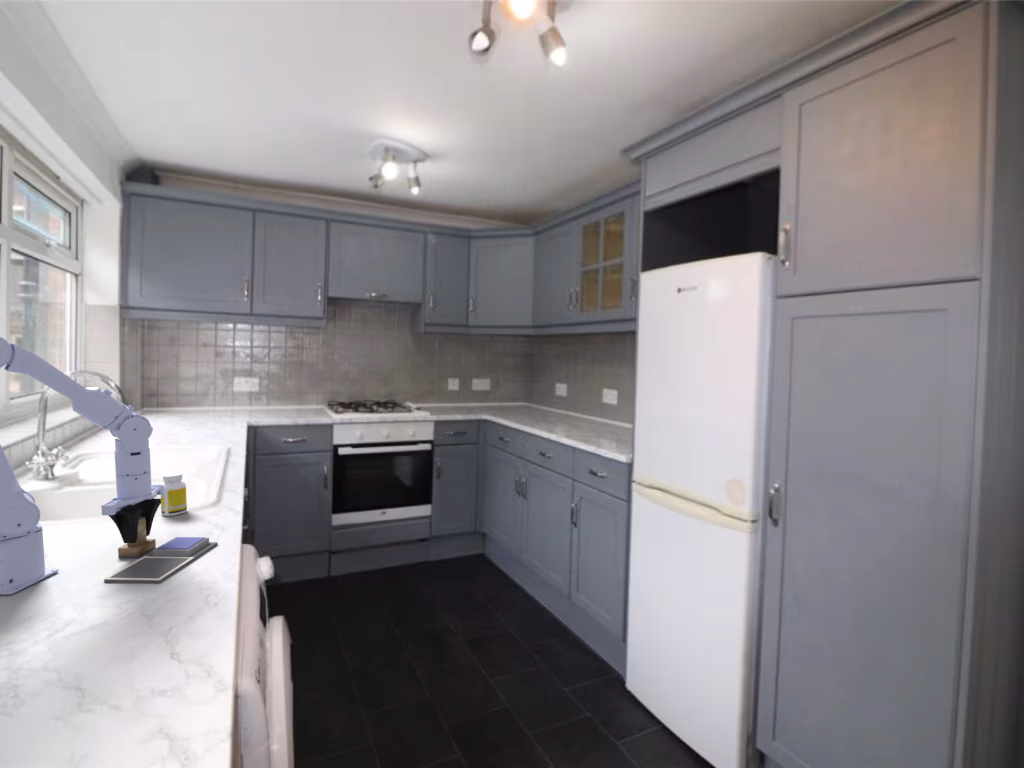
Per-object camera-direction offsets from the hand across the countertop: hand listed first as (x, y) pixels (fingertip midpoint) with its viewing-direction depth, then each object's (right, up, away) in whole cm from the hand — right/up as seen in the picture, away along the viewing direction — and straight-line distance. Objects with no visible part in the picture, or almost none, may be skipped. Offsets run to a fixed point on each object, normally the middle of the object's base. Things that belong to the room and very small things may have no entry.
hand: (136, 539), depth 107 cm
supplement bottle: (-8, -1, +25) cm, 27 cm away
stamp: (0, -3, 0) cm, 3 cm away
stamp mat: (+8, -3, -4) cm, 10 cm away
